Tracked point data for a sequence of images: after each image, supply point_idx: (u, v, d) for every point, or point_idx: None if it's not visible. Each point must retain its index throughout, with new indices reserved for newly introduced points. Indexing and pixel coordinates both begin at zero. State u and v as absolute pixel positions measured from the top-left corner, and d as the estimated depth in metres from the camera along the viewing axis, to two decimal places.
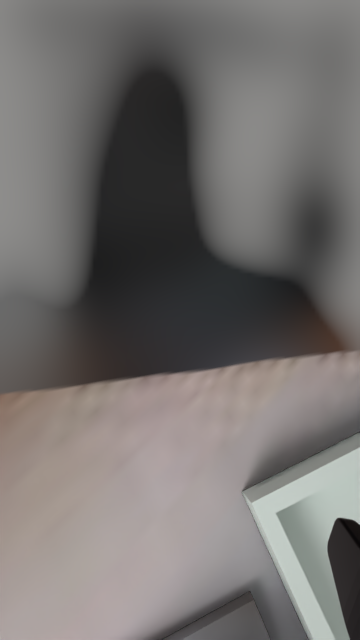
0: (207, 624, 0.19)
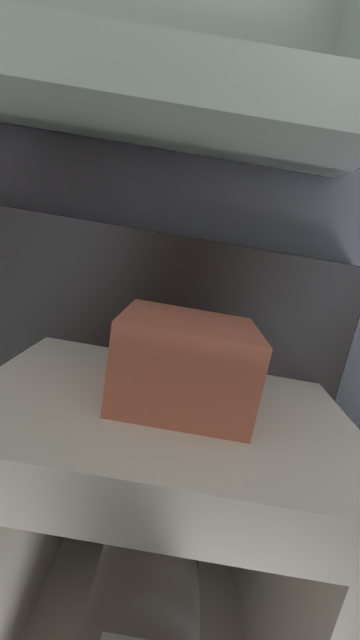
0: None
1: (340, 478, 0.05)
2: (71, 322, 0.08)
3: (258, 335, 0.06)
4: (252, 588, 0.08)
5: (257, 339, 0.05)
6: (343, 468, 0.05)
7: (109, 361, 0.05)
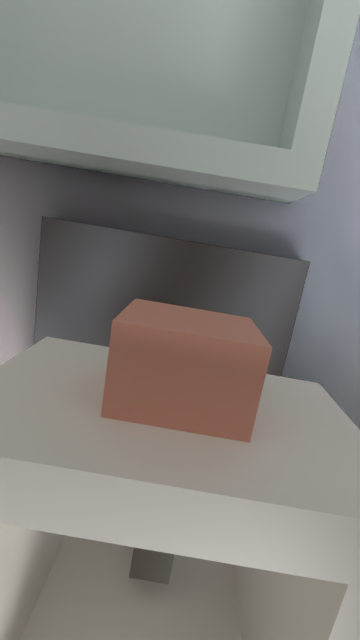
0: (38, 292, 0.13)
1: (339, 477, 0.05)
2: (116, 296, 0.13)
3: (258, 334, 0.06)
4: (252, 587, 0.08)
5: (257, 338, 0.05)
6: (342, 467, 0.05)
7: (109, 360, 0.05)
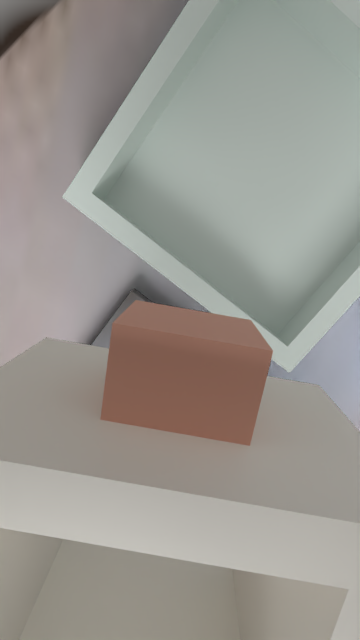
0: (102, 330, 0.19)
1: (340, 481, 0.05)
2: None
3: (258, 337, 0.06)
4: (251, 589, 0.08)
5: (257, 341, 0.05)
6: (343, 470, 0.05)
7: (109, 362, 0.05)
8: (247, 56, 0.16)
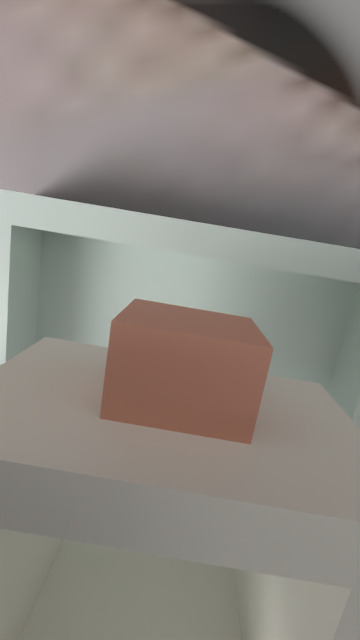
0: None
1: (342, 479, 0.05)
2: None
3: (259, 335, 0.05)
4: (252, 589, 0.08)
5: (258, 339, 0.05)
6: (345, 469, 0.05)
7: (109, 361, 0.05)
8: (282, 316, 0.13)
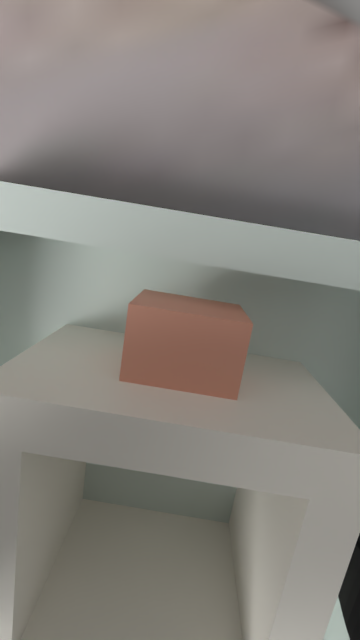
0: None
1: (305, 423, 0.06)
2: None
3: (243, 315, 0.07)
4: (243, 534, 0.09)
5: (242, 318, 0.07)
6: (309, 417, 0.06)
7: (126, 335, 0.06)
8: (309, 341, 0.10)
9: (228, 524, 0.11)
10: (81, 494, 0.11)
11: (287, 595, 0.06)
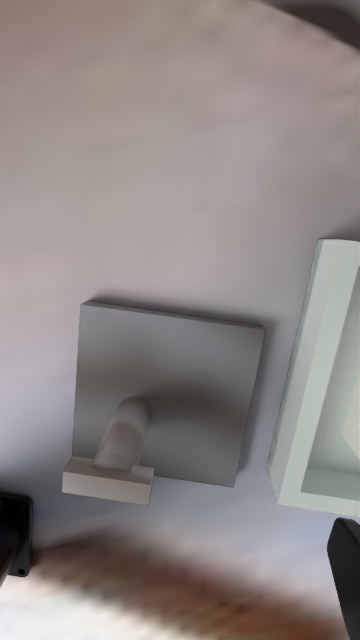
0: (211, 322, 0.18)
1: None
2: (209, 377, 0.19)
3: None
4: None
5: None
6: None
7: None
8: None
9: None
10: None
11: None
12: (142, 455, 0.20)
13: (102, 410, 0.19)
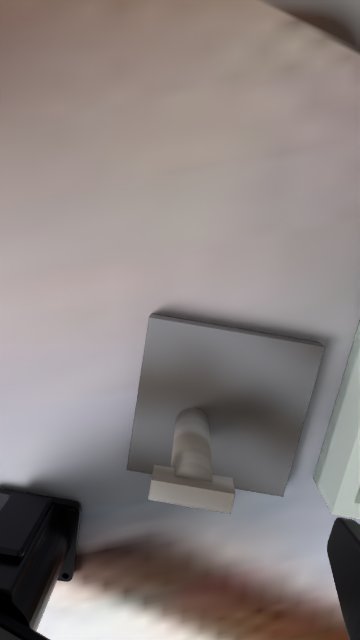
0: (273, 338, 0.19)
1: None
2: (268, 390, 0.19)
3: None
4: None
5: None
6: None
7: None
8: None
9: None
10: None
11: None
12: None
13: (160, 419, 0.20)
